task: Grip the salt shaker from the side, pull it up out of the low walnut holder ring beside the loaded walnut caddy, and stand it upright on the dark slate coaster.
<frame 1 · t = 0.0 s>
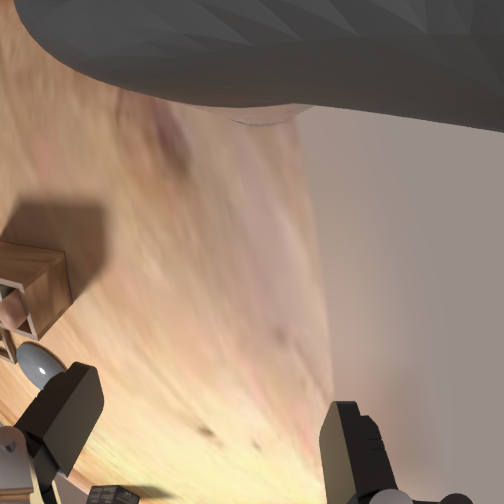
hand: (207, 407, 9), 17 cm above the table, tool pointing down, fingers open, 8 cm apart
caddy: (31, 271, 28), on the table
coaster: (44, 371, 34), on the table
small box: (115, 491, 51), on the table
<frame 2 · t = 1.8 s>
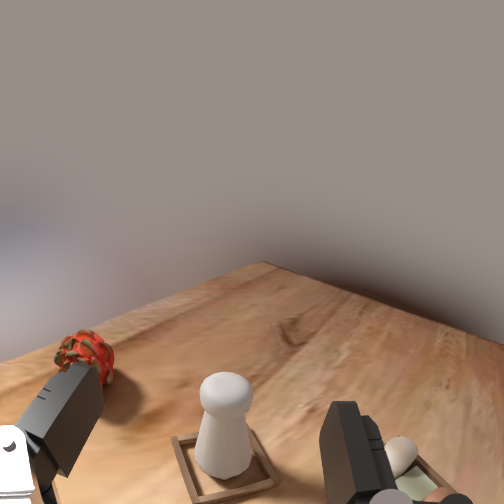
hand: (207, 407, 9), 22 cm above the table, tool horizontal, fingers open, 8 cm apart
salt shaker: (222, 465, 27), resting in holder
dragon fruit: (89, 381, 36), on the table
holder: (222, 464, 27), on the table
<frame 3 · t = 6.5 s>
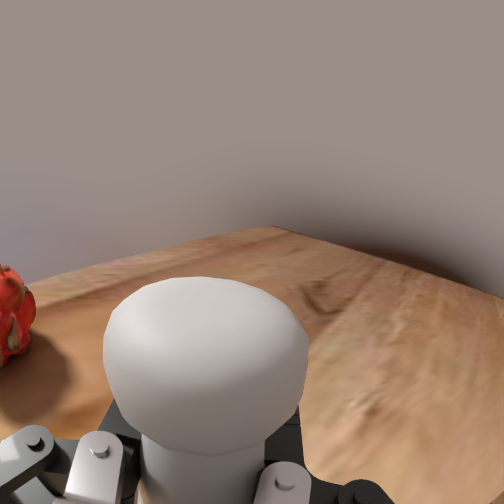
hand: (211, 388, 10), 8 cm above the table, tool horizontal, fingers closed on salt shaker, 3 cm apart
dragon fruit: (2, 350, 19), on the table
when the fingers open (9 cm above the table, at t = 10.4 s): salt shaker stays where it is, resting on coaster.
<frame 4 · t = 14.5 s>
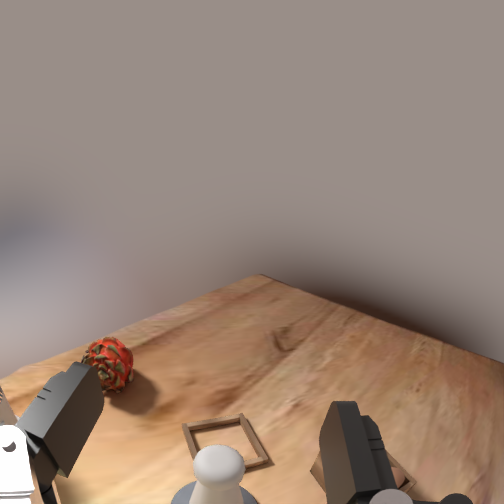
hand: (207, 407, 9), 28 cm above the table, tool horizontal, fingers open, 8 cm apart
dragon fruit: (111, 380, 44), on the table
caddy: (350, 491, 28), on the table
holder: (222, 446, 35), on the table
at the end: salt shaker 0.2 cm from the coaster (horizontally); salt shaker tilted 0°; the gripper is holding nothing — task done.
